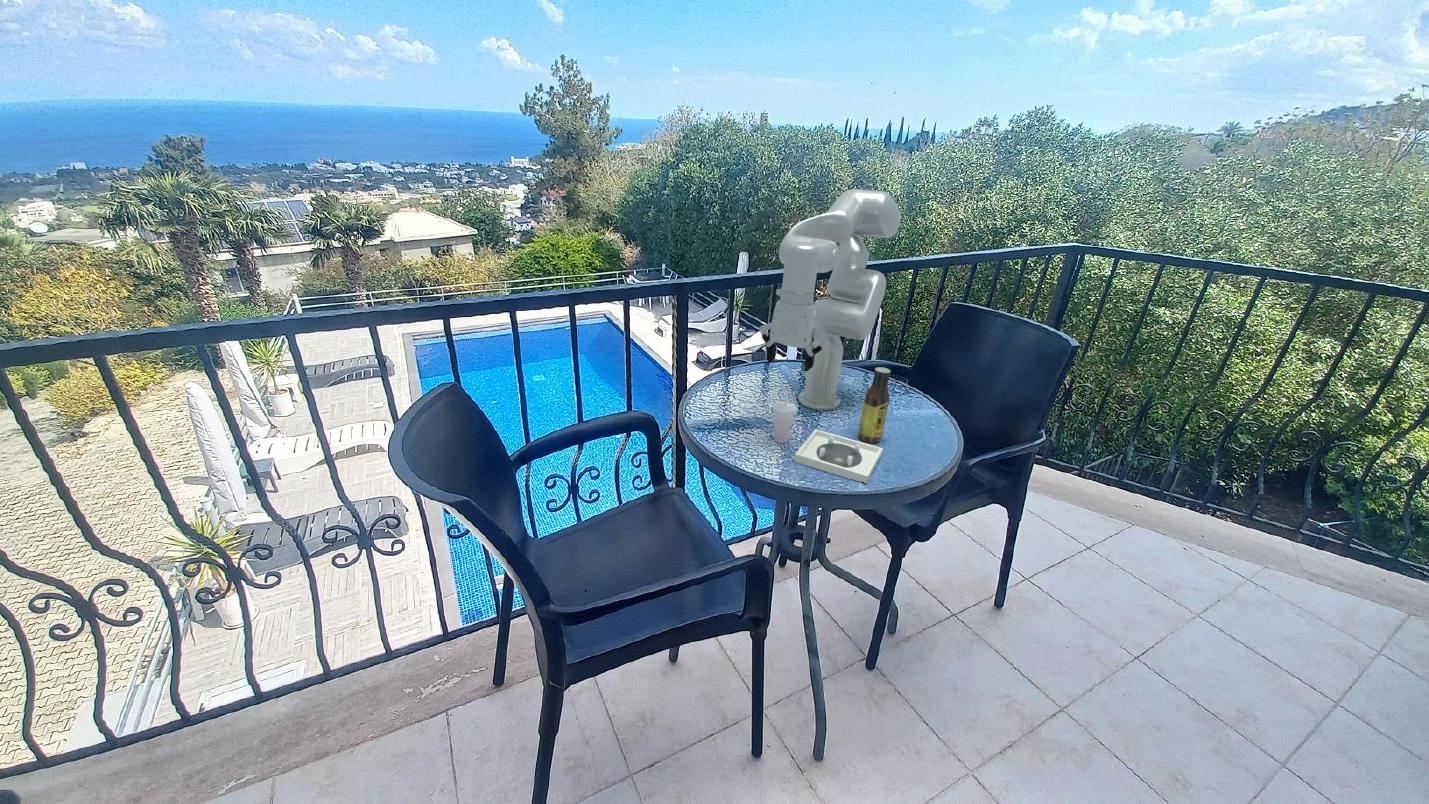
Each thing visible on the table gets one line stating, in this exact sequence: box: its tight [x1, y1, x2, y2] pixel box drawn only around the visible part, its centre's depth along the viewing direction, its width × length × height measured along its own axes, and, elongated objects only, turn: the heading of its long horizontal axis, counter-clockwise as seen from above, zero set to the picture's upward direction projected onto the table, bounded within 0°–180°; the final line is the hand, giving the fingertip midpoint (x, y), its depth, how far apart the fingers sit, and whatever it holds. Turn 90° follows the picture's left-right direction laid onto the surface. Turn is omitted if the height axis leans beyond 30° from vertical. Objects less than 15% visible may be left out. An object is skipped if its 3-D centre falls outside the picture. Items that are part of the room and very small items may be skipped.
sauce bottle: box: [857, 366, 892, 444], centre depth 141 cm, size 7×6×20 cm
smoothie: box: [771, 389, 798, 444], centre depth 140 cm, size 6×6×14 cm
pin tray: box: [793, 428, 884, 484], centre depth 134 cm, size 15×18×4 cm
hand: (789, 365), depth 133 cm, fingers open, 9 cm apart
